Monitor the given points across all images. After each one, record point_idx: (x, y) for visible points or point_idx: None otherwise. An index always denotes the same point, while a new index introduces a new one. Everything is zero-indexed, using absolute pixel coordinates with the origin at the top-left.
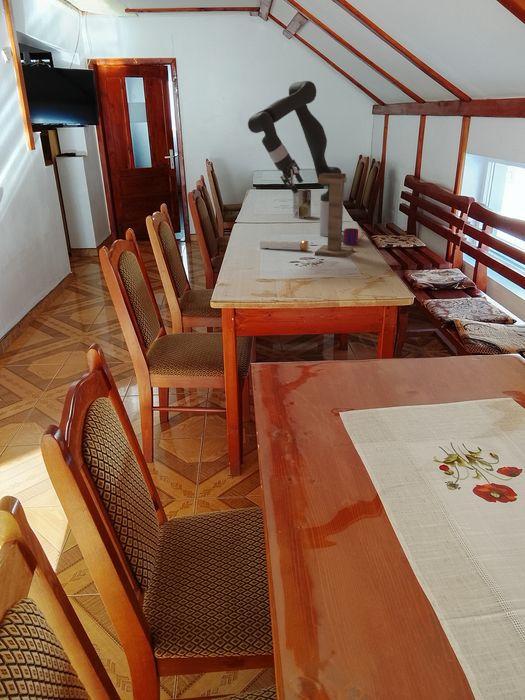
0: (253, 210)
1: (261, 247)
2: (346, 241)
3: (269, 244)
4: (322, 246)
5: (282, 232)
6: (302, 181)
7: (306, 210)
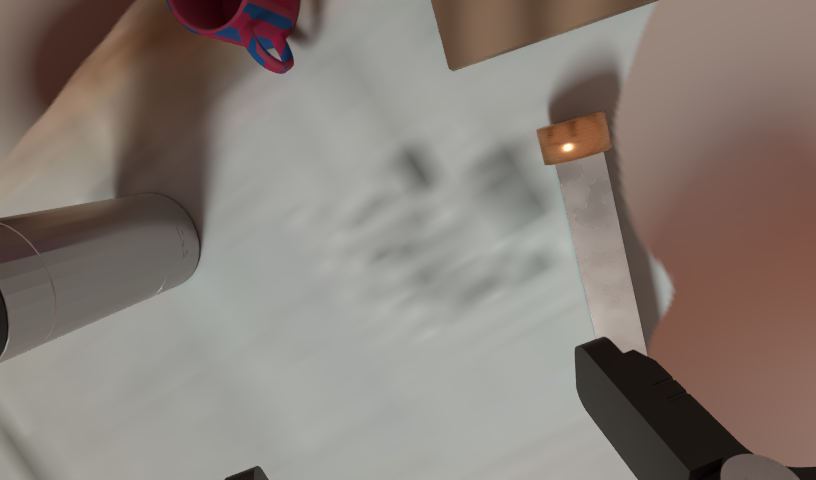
0: None
1: None
2: (288, 2)
3: None
4: (485, 51)
5: None
6: (257, 469)
7: None
